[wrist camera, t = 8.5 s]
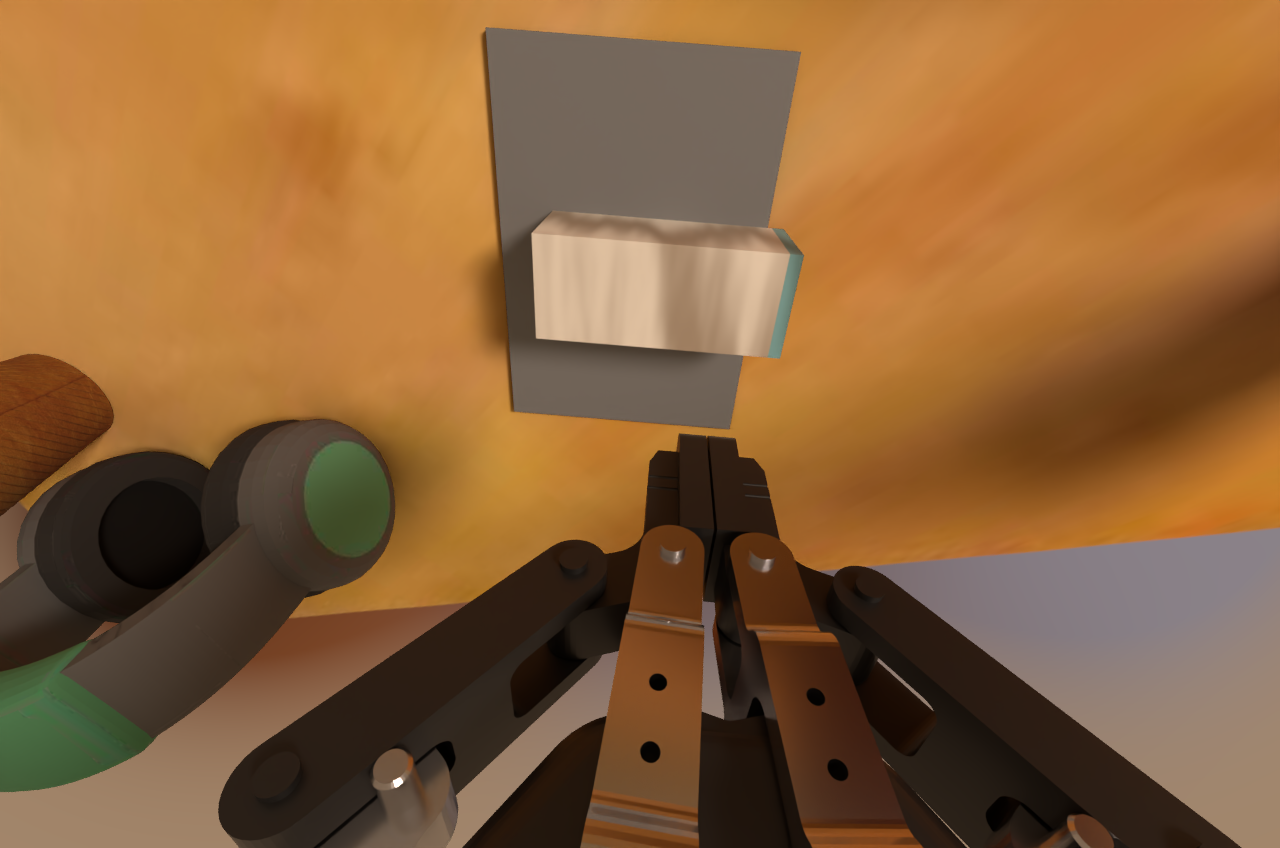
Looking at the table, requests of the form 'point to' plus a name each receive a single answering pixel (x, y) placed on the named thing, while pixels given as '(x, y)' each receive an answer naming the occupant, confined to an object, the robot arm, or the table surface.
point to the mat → (628, 193)
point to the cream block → (663, 283)
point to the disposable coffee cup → (44, 421)
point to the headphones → (171, 586)
